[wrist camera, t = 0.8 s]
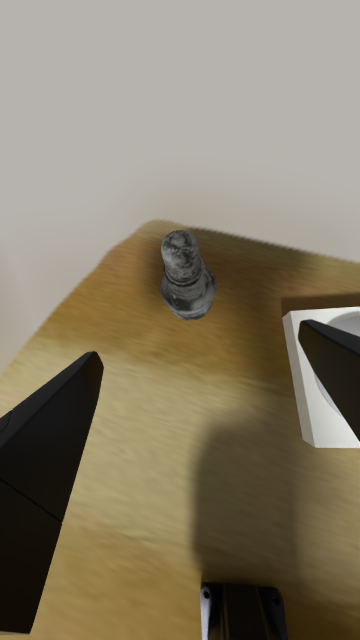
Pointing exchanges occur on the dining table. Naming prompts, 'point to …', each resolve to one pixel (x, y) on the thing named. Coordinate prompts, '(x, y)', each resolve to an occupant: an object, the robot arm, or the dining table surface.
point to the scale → (311, 397)
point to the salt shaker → (185, 277)
